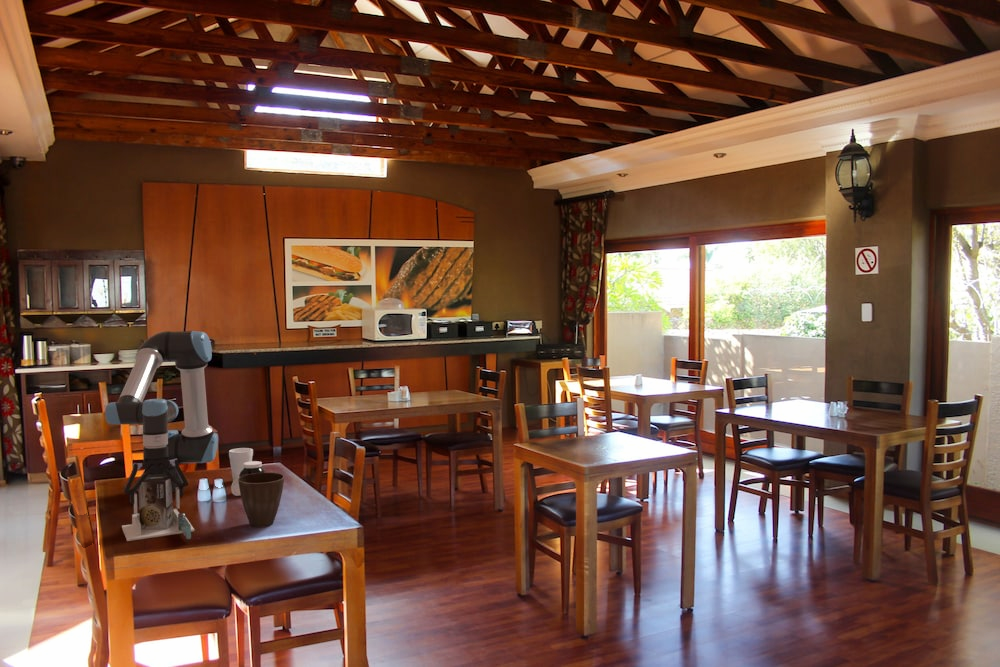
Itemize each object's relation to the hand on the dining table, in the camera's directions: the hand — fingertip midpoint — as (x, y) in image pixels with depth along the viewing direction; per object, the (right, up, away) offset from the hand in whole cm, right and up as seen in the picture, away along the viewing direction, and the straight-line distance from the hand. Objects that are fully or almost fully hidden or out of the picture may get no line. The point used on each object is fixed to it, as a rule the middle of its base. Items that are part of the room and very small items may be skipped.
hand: (157, 510), depth 255 cm
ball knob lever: (+13, -5, -9) cm, 17 cm away
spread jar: (+16, -4, +46) cm, 49 cm away
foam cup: (+6, -3, +66) cm, 66 cm away
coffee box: (0, -6, 0) cm, 6 cm away
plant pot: (+33, -6, +5) cm, 34 cm away
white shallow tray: (+1, -6, -1) cm, 6 cm away
